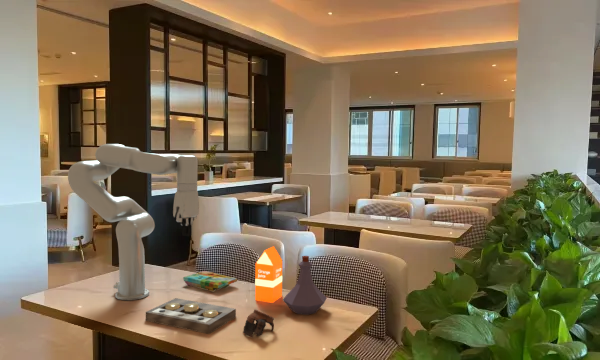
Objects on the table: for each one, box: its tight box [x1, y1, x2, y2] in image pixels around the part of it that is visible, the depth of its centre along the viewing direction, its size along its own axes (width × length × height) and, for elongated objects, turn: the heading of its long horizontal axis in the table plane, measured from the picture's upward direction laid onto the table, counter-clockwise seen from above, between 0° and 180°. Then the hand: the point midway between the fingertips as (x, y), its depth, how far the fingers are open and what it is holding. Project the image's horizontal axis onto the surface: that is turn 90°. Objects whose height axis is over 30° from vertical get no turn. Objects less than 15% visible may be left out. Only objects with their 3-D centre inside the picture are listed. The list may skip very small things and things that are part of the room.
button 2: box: [203, 310, 218, 318], centre depth 159 cm, size 5×5×2 cm
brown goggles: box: [242, 309, 275, 338], centre depth 150 cm, size 12×10×8 cm
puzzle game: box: [182, 270, 238, 292], centre depth 199 cm, size 12×5×20 cm
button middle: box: [184, 303, 199, 315], centre depth 162 cm, size 5×5×2 cm
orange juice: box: [254, 245, 283, 304], centre depth 184 cm, size 8×9×20 cm
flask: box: [282, 255, 327, 316], centre depth 171 cm, size 16×16×20 cm
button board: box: [145, 297, 237, 335], centre depth 162 cm, size 26×16×3 cm, turn 66°
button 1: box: [165, 303, 180, 311], centre depth 165 cm, size 5×5×2 cm
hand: (186, 235), depth 180 cm, fingers closed
